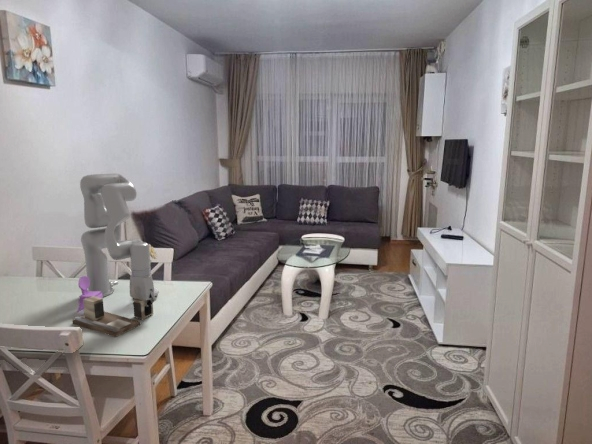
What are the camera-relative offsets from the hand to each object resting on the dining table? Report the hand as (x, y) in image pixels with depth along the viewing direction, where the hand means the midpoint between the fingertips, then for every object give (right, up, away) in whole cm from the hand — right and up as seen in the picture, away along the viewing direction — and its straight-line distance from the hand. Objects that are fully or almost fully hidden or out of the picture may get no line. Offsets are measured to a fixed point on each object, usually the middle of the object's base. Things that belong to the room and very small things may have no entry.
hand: (144, 312), depth 174 cm
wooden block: (0, -1, 0) cm, 1 cm away
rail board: (-12, -3, -8) cm, 15 cm away
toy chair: (-26, 0, +7) cm, 27 cm away
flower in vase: (-7, +3, +24) cm, 25 cm away
